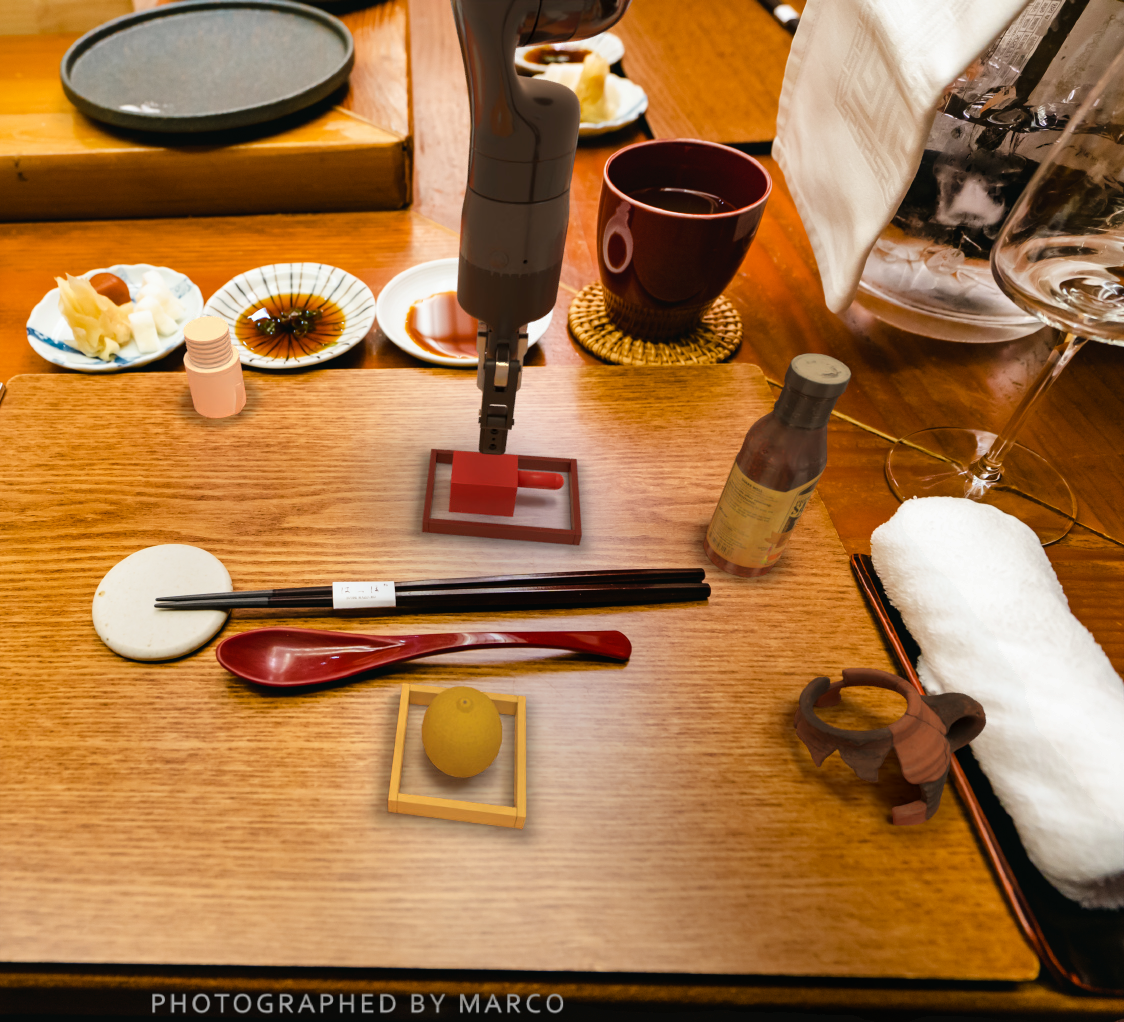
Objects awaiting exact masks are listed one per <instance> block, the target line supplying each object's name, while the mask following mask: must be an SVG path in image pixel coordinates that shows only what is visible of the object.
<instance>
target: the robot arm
mask: <svg viewBox="0 0 1124 1022" xmlns="http://www.w3.org/2000/svg"><path fill="white" fill-rule="evenodd" d="M449 1H450V8H451V12H452V16H453V22H454V25H455V26H454V27H455V31H456V35H457V39H458V44H459V48H460V54H461V58H462V64H463V71H464V77H465V84H466V91H467V92H466V93H467V100H468V112H469V136H468V137H469V139H468V140H469V141H468V142H469V143H468V144H469V145H468V146H469V147H468V159H467V175H466V177H467V178H466V187H465V193H464V197H463V201H462V206H461V207H462V208H461V216H460V230H459V231H460V232H459V246H458V247H459V248H458V265H457V281H456V282H457V283H456V299H457V303H458V305H459V307H460V308H461V309H462V310H463V312H465V313H466V314H467V315H469V316H470V317H472V318H474V319H475V320H477V332H476V333H477V334H476V347H475V350H476V353H477V354H478V359H477V372H476V373H477V374H476V388H477V389H478V390H480V391H481V402H480V408H479V409H478V424H479V438H478V452H480V453H482V454H490V455H502V454H506V452H507V451H506V450H507V442H508V436H509V435H508V434H509V431H512V429H513V426H515V418H514V416H515V415H514V414H515V406H516V397H517V392H518V391H520V389H521V388H522V379H523V376H522V375H523V369H524V368H523V367H524V357H525V355H526V354H527V353H528V349H529V334H530V333H529V332H528V327H529V324H530V323H535V322H537V321H540V320H541V319H543V318H545V317H546V316H547V315H549V314H550V313H551V312H552V311H553V309H554V308H555V306H556V304H557V299H558V293H559V286H560V281H561V273H562V267H563V261H564V254H565V248H566V242H567V235H568V229H569V223H570V209H571V208H570V207H571V206H570V203H571V201H570V200H571V197H570V195H571V184H572V179H573V172H574V168H575V167H574V165H575V159H576V153H577V146H578V139H579V133H580V127H581V126H580V125H581V114H582V113H581V112H582V110H581V103H580V99H579V97H578V96H577V94H576V92H575V91H573V90H572V89H571V88H570V87H569V86H567V85H564V84H562V83H560V82H556V81H553V80H548V79H542V78H535V77H530V76H523V75H518V72H517V69H516V51H517V49H519V48H529V47H538V46H539V47H540V46H547V45H548V46H549V45H558V44H566V43H575V42H581V41H585V40H589V39H591V38H594V37H597V36H599V35H601V34H603V33H605V32H607V31H609V30H610V29H611V28H613V27H615V26H616V25H617V24H619V23H620V21H621V20H622V19H623V18H624V17H625V16H626V14H627V13H628V10H629V9H630V7H631V5H632V2H633V1H634V0H449ZM1115 1022H1124V1018H1122V1019H1119V1020H1116V1021H1115Z"/></svg>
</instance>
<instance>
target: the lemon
mask: <svg viewBox="0 0 1124 1022" xmlns="http://www.w3.org/2000/svg"><path fill="white" fill-rule="evenodd" d="M447 688H448V689H446V690H444V691H443V692H441V693H439V694H438V695H437V696H436V697H435V698H434V699H433V700H432V702H431V703H430V705H429V706H427V708H426V710H425V712H424V715H423V718H422V723H421V743H422V745H423V748H424V752H425V754H426V756H427V757H428V759H429V761H430V762H431V764H432V765H434V766H435V767H436V768H437V769H438V770H439V771H441V772H442V773H444V774H446V775H448V776H451V777H455V778H462V779H463V778H464V779H465V778H470V777H475V776H477V775H479V774H481V773H483V772H485V771H486V770H487V769H488V768H489V767H490V766H492V764H493V763H494V761H495V760H496V758H497V757H498V755H499V753H500V749H501V746H502V743H503V723H502V719H501V714H499V712H498V710H497V708H496V706H495V705H494V703H493V702H492V700H491V699H490V698H489V697H488V696H487V695H485V694H484V693H482V692H483V691H481V690H479V689H477V688H474V687H472V686H467V685H459V686H457V685H455V686H452V687H447Z"/></svg>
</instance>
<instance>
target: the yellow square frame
mask: <svg viewBox="0 0 1124 1022" xmlns="http://www.w3.org/2000/svg"><path fill="white" fill-rule="evenodd" d="M448 688H449V687H442V686H435V685H424V684H416V683H406V682H402V684H401V691H400V698H399V706H398V707H399V708H398V715H397V722H396V723H397V724H396V731H395V740H394V749H393V757H392V766H391V772H390V773H391V774H390V782H389V788H388V789H389V790H388V799H387V812H389V813H396V814H404V815H409V816H410V815H411V816H418V817H426V818H435V819H442V820H450V821H457V822H458V821H459V822H465V823H471V824H472V823H473V824H481V825H489V826H495V827H496V826H497V827H504V828H512V829H513V828H514V829H518V830H519V829H520V830H523V829H524V826H525V822H526V819H527V696H525V695H516V694H508V693H498V692H489V691H481V692H482V693H484V694H485V695H487V696H488V697H489V698H490V699H491V700H492V702H493V703H494V705H495V706H496V708H497V710H498V712H499V715H509V716H510V715H511V716H514V774H513V776H514V777H513V778H514V781H513V782H514V786H513V789H514V790H513V792H514V793H513V806H505V805H497V804H488V803H480V802H475V801H474V802H473V801H465V800H457V799H449V798H441V797H433V796H425V795H418V794H410V793H402V792H400V788H401V780H402V770H403V763H404V753H405V744H406V735H407V725H408V717H409V709H410V705H421V706H427V707H429V705H430V703H431V702H432V700H433V699H434V698H435V697H436V696H437V695H438V694H439V693H441V692H443V691H444V690H446V689H448Z"/></svg>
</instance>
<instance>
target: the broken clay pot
mask: <svg viewBox="0 0 1124 1022" xmlns="http://www.w3.org/2000/svg"><path fill="white" fill-rule="evenodd" d="M841 677H842V679H841V680H836V681H833V682H831V678H830V677H829V676H817V677H815V678H814V679H812V680H810V681H809V682H808V684H807V685H806V686H805V687H804V688H802V691H801V693H800V694H799V698H798V704H799V706H798V708H797V709H796V711H795V713H794V717H793V728H794V729H795V733H796V734H795V735H796V736H797V738H798V739H799V740H800V741H802V743H803V744H804V745H805V747H806V748H807V750H808V753H809V754H810V756H811V759H812V761H813V763H814V764H815V766H816V768H817V769H818V768H821V767H822V765H823V762H825V760H826V759H827V758H829V757H830V756H831V755H833V754H834V752H836V751H838V754H839V757H840V759H841V760H842V761H843V762H844V764H845V765H847V767H849V768H850V769H851V770H853V772H854V773H855V775H856V776H857V777H858V778H859V779H860V780H863V781H864V782H865V781H866V782H870V783H877V782H879V769H880V768H881V767H882V765H883V764H884V762H885V759H886V757H887V756H888V754H889V753H890V752H891V750H892V751H893V752H894V754H895V756H896V757H897V759H898V762H899V767H900V772H901V775H902V777H903V778H904V779H905V780H906V781H907V782H908V783H909V784H911V785H919V786H918V787H919V788H920V792H921V796H920V798H919V799H917V800H914V801H913V802H910V803H909V802H908V803H907V804H902V805H898V806H893V807H892V808H891V810H890V813H891V816H892V824H893V825H894V826H916V825H917V826H918V825H920V824H923V823H925V822H926V821H929V820H930V819H931V818H932V817H934V816H935V814H937V811H938V809H939V807H940V805H941V799H942V797H943V796H942V795H943V793H944V788H945V785H946V783H947V777H948V775H949V772H950V767H951V760H952V759H951V758H952V754H953V753H954V752H956V751H957V750H959V749H961V748H963V747H965V746H967V745H968V744H970V743H972V742H973V741H974V740H975V739H976V738H977V737H979V735H980V734H981V733H982V732H984V729H985V727H986V725H987V717H986V715H987V713H986V712H985V708H984V706H983V705H982V704H981V703H980V702H979V701H977V700H976V699H974V698H973V697H971V696H970V695H968V694H966V693H962V692H956V691H955V692H953V691H952V692H944V693H940V694H939V693H938V694H934V695H933V694H932V695H925V694H920V693H919V691H918V690H917V688H915V687H914V685H913V684H912V683H910V682H909V681H908V680H906V679H904V678H903V677H901V676H898V675H897V674H895V673H891V672H888V671H885V670H881V669H878V668H877V669H876V668H870V667H848V668H844V669H843V668H842V670H841ZM852 687H853V688H854V687H873V688H880V689H884V690H888V691H892V692H894V693H897V694H899V695H900V696H902V697H903V699H905V700H906V703H907V706H906V710H905V712H904V714H903V715H902V716H901V717H900V718H899V719H897V720H895V721H894V722H892V723H891V724H889V725H887V726H886V727H881V728H876V729H871V730H850V729H843V728H839V727H836V726H833V725H831V724H829V723H827V722H826V721H824V720H822V719H821V718H819V716H817V715H816V713H815V711H814V705H815V706H816V707H818V708H820V709H822V708H829V707H835V706H837V705H839V703H840V702H841V701H842V695H841V690H842V689H846V688H852Z"/></svg>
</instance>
